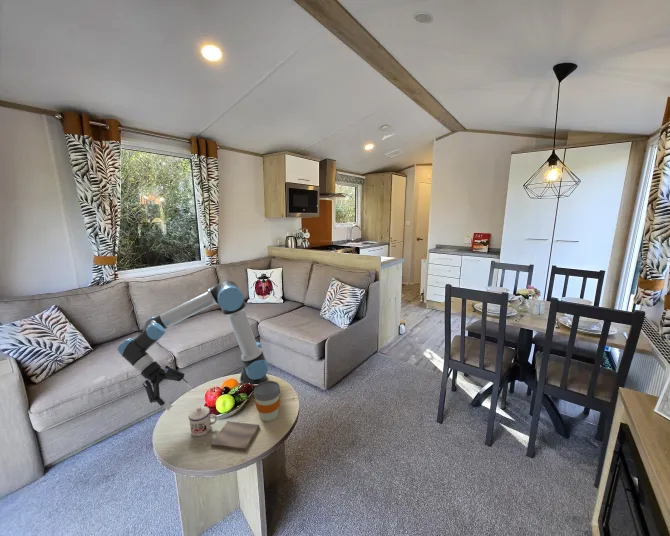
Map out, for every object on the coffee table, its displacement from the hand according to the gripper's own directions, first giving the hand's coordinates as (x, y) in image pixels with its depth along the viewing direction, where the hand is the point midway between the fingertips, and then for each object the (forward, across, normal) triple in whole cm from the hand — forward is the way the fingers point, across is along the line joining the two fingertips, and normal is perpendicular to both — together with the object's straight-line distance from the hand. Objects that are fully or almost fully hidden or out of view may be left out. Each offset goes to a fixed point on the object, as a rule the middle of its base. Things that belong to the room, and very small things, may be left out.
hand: (180, 399), depth 137 cm
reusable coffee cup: (+36, -14, +15) cm, 42 cm away
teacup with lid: (+18, 0, -3) cm, 18 cm away
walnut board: (+30, +2, +9) cm, 31 cm away
